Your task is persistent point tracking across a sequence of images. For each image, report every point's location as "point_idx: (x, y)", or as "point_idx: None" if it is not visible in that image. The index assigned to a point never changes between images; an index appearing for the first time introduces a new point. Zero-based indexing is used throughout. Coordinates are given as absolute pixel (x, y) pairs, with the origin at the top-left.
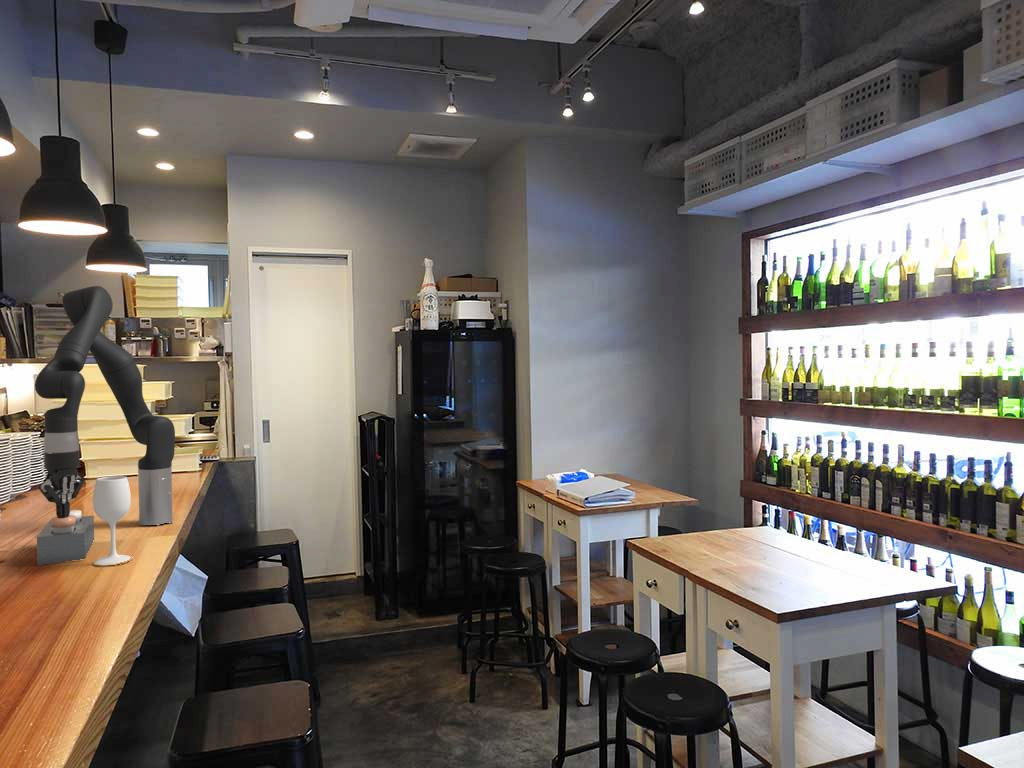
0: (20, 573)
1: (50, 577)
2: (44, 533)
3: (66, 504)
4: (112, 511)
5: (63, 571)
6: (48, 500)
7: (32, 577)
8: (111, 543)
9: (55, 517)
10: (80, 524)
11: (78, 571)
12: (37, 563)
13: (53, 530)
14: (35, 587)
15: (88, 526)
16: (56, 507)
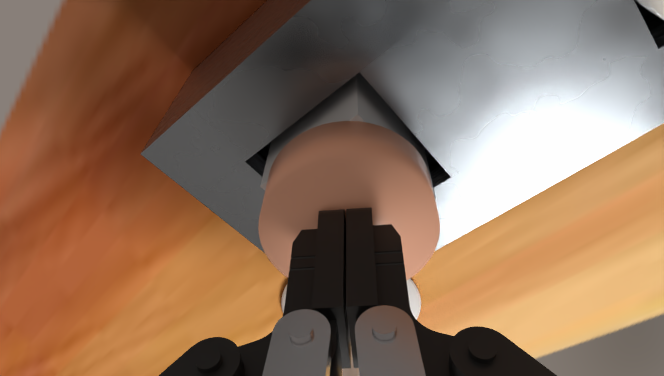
0: (73, 107)
1: (113, 255)
2: (235, 115)
3: (348, 357)
4: None
5: (185, 241)
6: (177, 367)
7: (74, 200)
8: (342, 370)
9: (333, 174)
10: (553, 128)
11: (210, 283)
12: (189, 76)
13: (263, 176)
14: (23, 291)
15: (522, 195)
16: (286, 296)
